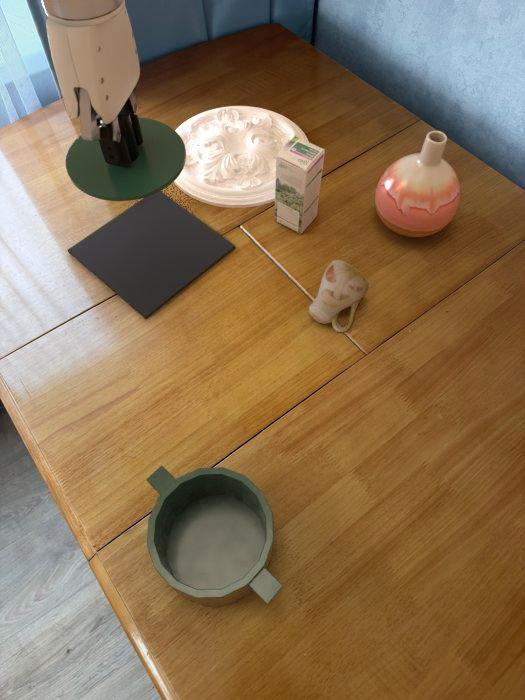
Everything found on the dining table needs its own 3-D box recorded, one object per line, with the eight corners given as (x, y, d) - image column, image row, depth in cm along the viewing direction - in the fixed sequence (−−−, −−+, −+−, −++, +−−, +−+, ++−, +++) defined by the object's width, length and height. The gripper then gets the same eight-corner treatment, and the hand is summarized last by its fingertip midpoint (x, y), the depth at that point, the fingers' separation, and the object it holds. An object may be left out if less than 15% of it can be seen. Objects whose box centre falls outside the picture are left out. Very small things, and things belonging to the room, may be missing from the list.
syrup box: (318, 215, 94) (327, 147, 81) (300, 236, 91) (306, 168, 79) (290, 202, 95) (295, 133, 83) (272, 222, 93) (274, 154, 80)
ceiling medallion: (262, 230, 92) (262, 217, 89) (135, 171, 99) (131, 157, 97) (336, 139, 104) (338, 125, 101) (218, 93, 111) (217, 79, 109)
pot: (232, 651, 60) (228, 650, 51) (124, 532, 66) (105, 514, 58) (310, 558, 65) (318, 543, 56) (203, 456, 71) (195, 429, 63)
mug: (294, 319, 83) (306, 259, 78) (331, 305, 89) (344, 249, 84) (331, 339, 79) (346, 277, 74) (367, 324, 85) (383, 266, 80)
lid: (118, 224, 61) (103, 177, 55) (44, 164, 66) (23, 115, 60) (211, 161, 66) (206, 113, 60) (136, 110, 71) (125, 61, 65)
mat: (145, 319, 82) (145, 317, 82) (68, 252, 89) (67, 249, 89) (235, 248, 90) (235, 245, 89) (157, 190, 97) (157, 188, 96)
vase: (380, 186, 97) (402, 99, 82) (454, 206, 95) (491, 119, 80) (360, 238, 91) (380, 154, 76) (438, 261, 88) (475, 178, 73)
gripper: (79, -57, 53) (121, 107, 69) (0, 31, 45) (68, 194, 61) (149, -49, 52) (175, 116, 68) (82, 43, 44) (129, 205, 60)
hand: (124, 152), depth 64 cm, fingers closed on lid, 3 cm apart
